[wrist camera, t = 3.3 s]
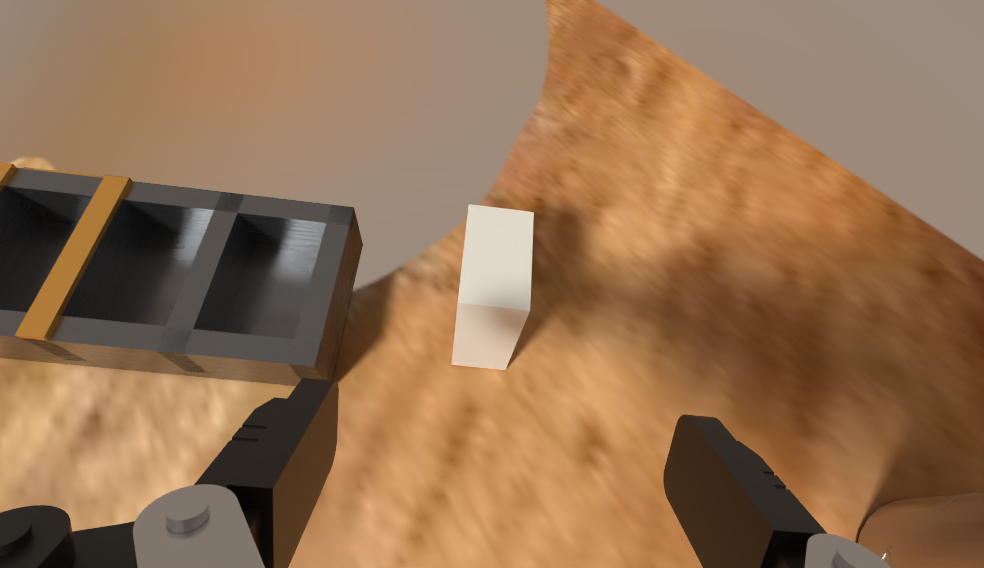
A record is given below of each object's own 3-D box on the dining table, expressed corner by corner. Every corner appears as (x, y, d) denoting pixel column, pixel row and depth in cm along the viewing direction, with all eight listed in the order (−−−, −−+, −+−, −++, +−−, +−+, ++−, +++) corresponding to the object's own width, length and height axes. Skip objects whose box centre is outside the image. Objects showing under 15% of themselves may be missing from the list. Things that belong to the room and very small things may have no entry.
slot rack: (363, 240, 30) (354, 199, 26) (329, 389, 26) (312, 364, 22) (46, 204, 29) (-9, 156, 25) (-46, 353, 25) (-129, 321, 21)
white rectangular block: (509, 290, 30) (533, 212, 23) (505, 370, 27) (530, 310, 20) (460, 284, 29) (468, 204, 22) (451, 364, 27) (457, 302, 20)
